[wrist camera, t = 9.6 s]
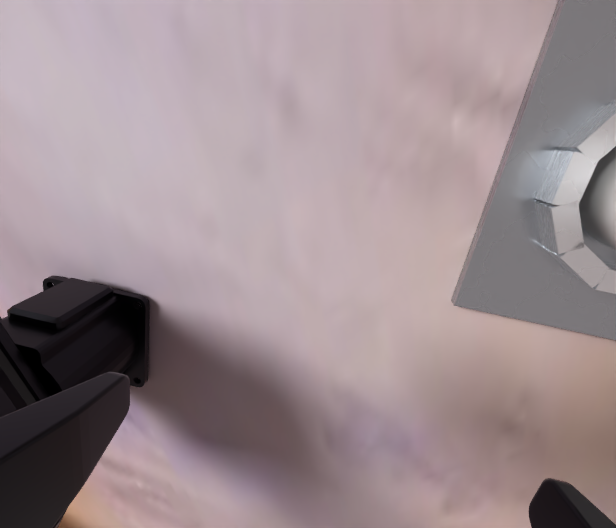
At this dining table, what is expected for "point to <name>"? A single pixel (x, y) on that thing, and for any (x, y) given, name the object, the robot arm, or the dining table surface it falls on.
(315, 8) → the dining table surface
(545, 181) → the plate
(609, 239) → the cylinder
